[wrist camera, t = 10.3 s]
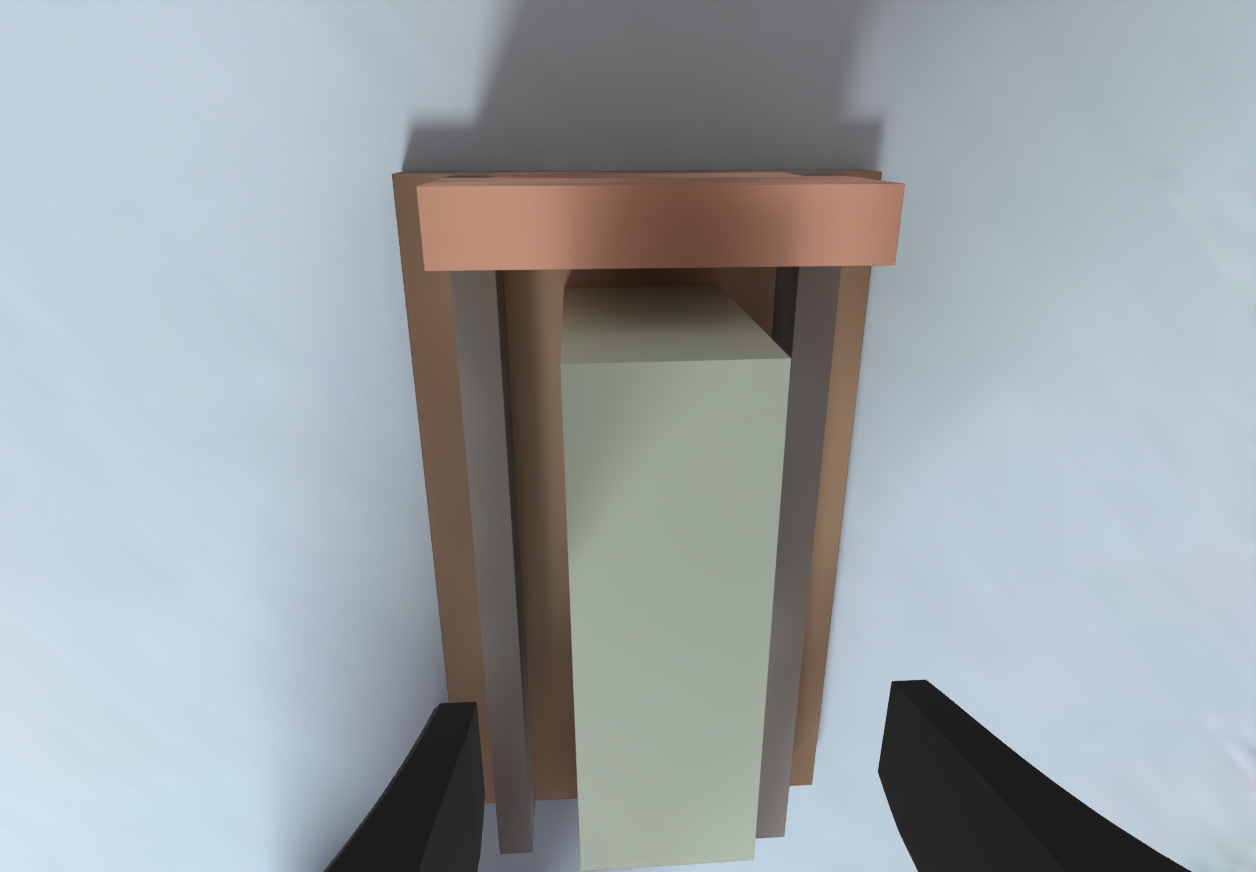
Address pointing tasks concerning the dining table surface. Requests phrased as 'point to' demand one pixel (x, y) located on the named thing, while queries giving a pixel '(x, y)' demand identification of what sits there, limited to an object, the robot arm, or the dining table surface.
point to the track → (533, 423)
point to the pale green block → (669, 567)
